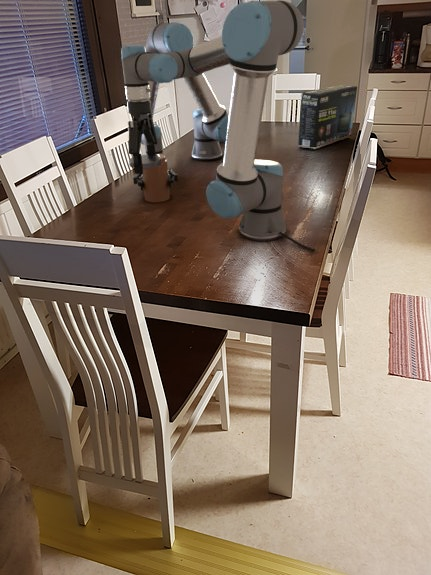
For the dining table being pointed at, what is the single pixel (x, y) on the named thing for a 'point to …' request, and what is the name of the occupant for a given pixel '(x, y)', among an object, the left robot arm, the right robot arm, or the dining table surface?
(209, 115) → the left robot arm
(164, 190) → the jar
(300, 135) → the router box
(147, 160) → the lid
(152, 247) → the dining table surface
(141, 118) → the right robot arm
